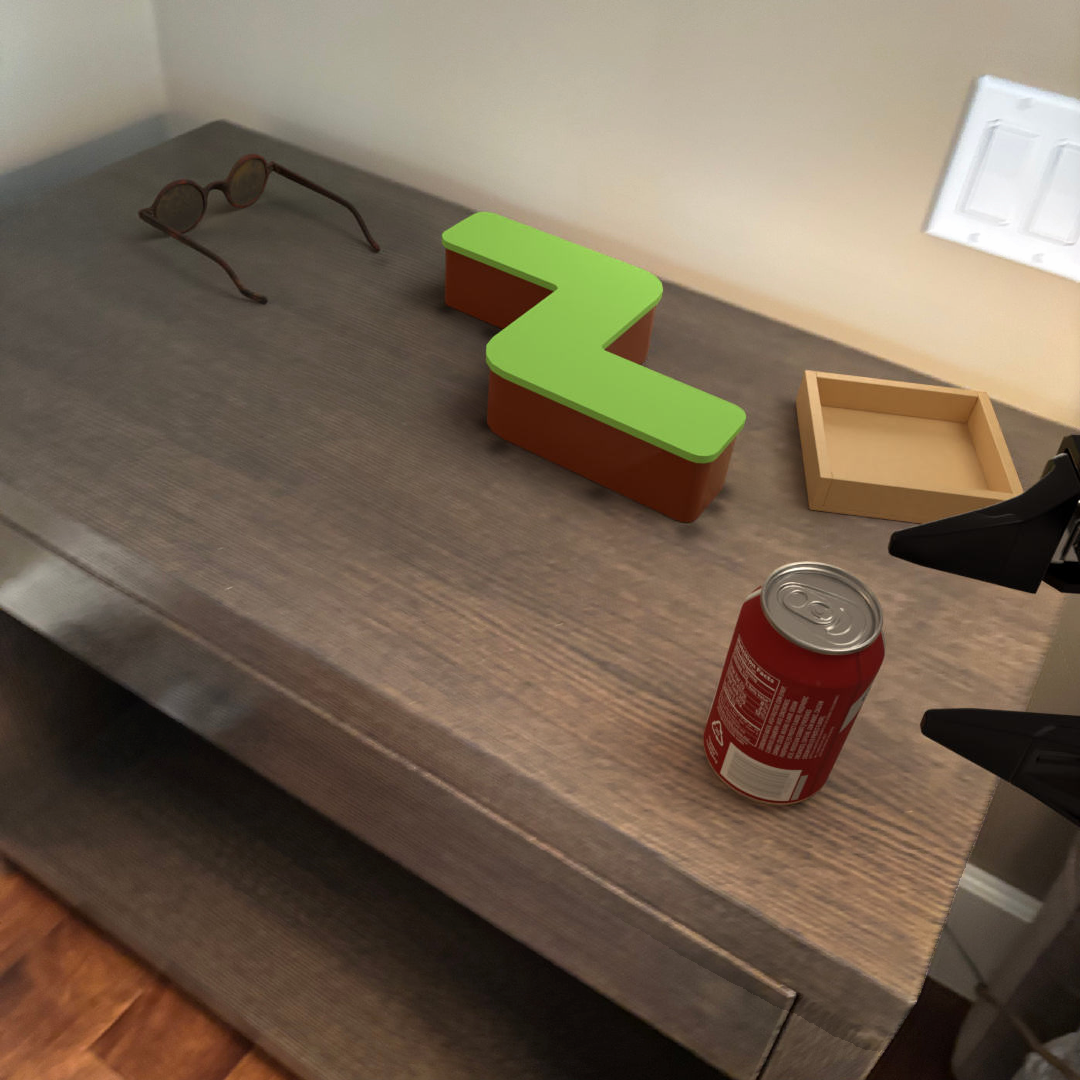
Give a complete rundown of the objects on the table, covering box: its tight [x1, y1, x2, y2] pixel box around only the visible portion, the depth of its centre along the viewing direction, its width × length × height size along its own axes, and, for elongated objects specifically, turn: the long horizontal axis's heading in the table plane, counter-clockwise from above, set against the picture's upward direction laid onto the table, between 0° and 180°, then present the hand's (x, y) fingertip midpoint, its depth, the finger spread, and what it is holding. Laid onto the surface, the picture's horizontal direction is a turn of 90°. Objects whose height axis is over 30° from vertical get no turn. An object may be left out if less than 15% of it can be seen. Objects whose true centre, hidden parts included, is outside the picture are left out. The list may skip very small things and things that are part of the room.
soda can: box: [702, 561, 887, 806], centre depth 50 cm, size 7×7×12 cm
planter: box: [441, 211, 747, 523], centre depth 76 cm, size 30×18×6 cm, turn 57°
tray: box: [795, 369, 1024, 524], centre depth 73 cm, size 14×13×3 cm
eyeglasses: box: [137, 153, 381, 304], centre depth 88 cm, size 15×15×5 cm
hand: (905, 625), depth 40 cm, fingers open, 9 cm apart
